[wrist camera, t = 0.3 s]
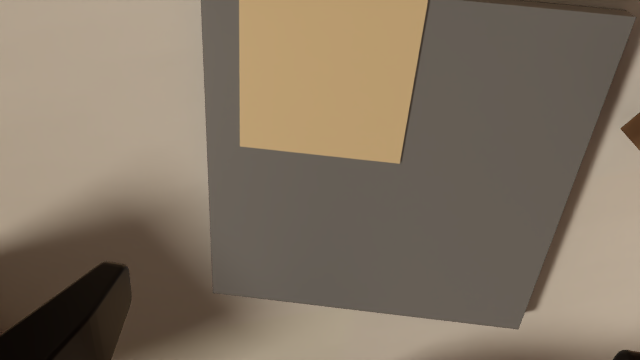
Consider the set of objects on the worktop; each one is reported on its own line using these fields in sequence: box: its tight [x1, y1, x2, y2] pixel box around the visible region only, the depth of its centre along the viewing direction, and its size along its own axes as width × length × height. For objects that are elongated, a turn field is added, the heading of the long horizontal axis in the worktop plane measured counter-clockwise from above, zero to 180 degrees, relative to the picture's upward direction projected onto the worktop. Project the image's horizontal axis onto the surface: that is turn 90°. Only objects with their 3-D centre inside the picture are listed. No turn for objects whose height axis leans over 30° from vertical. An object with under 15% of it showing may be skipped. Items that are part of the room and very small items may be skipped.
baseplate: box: [201, 0, 636, 329], centre depth 24 cm, size 16×16×1 cm
